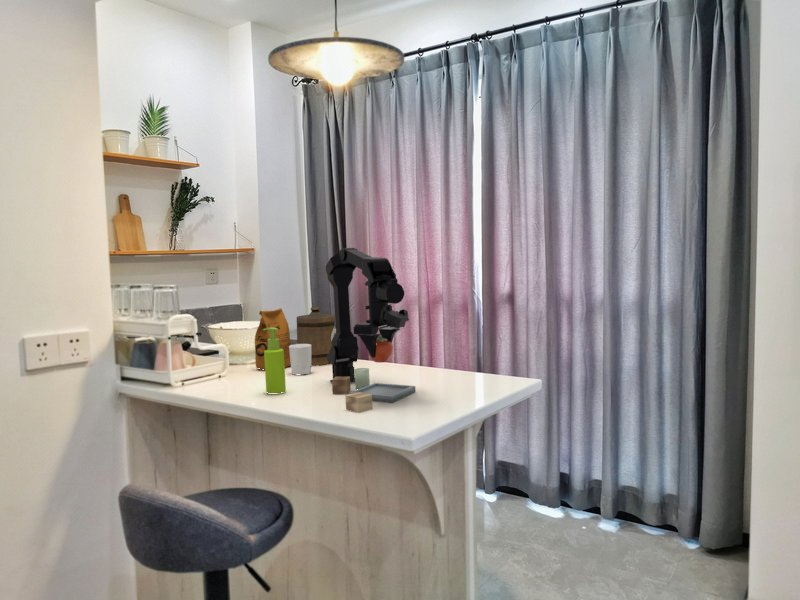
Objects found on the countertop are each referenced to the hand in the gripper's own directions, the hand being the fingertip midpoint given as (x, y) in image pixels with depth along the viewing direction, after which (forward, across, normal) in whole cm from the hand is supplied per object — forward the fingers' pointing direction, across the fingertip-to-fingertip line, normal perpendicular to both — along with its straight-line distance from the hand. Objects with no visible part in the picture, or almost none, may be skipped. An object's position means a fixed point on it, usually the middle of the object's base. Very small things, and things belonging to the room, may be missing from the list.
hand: (380, 355), depth 184 cm
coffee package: (+12, +23, +62) cm, 67 cm away
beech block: (+12, -16, -2) cm, 20 cm away
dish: (+12, 0, 0) cm, 12 cm away
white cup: (+12, +18, +45) cm, 50 cm away
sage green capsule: (+12, +6, +11) cm, 17 cm away
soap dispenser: (+12, -8, +34) cm, 37 cm away
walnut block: (+12, -1, +14) cm, 18 cm away
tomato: (+2, 0, 0) cm, 2 cm away
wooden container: (+12, +38, +53) cm, 67 cm away
